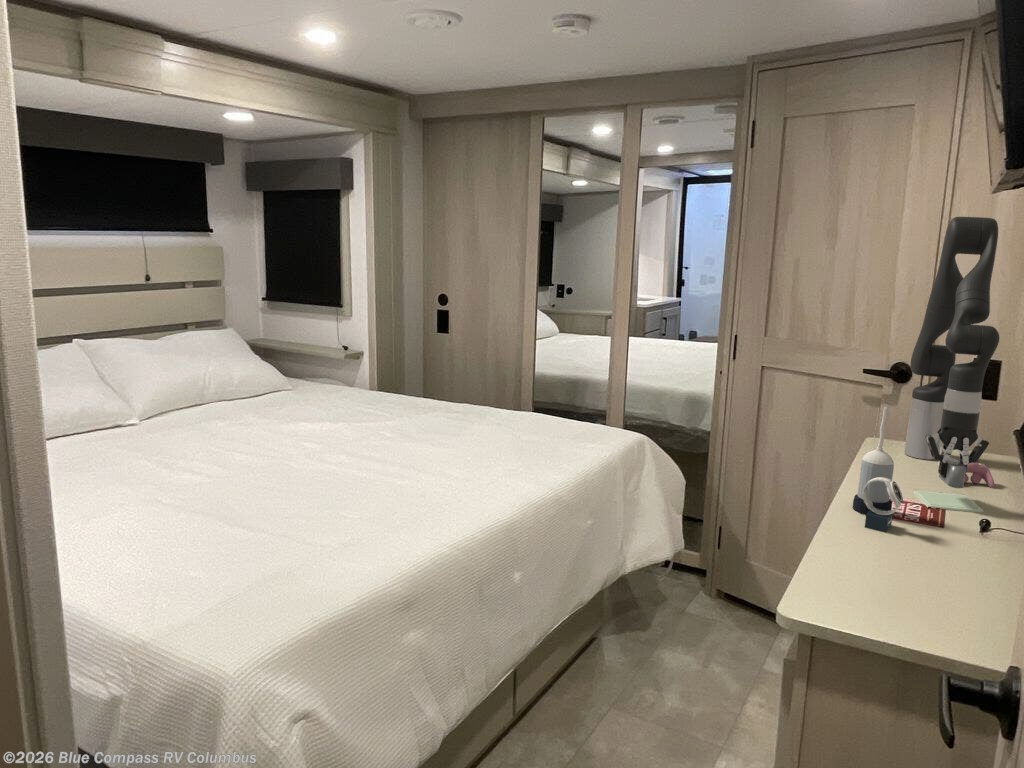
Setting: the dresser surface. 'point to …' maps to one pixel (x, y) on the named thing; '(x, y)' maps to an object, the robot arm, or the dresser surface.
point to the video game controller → (979, 474)
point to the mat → (948, 501)
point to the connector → (954, 473)
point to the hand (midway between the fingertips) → (951, 477)
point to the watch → (879, 517)
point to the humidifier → (875, 476)
